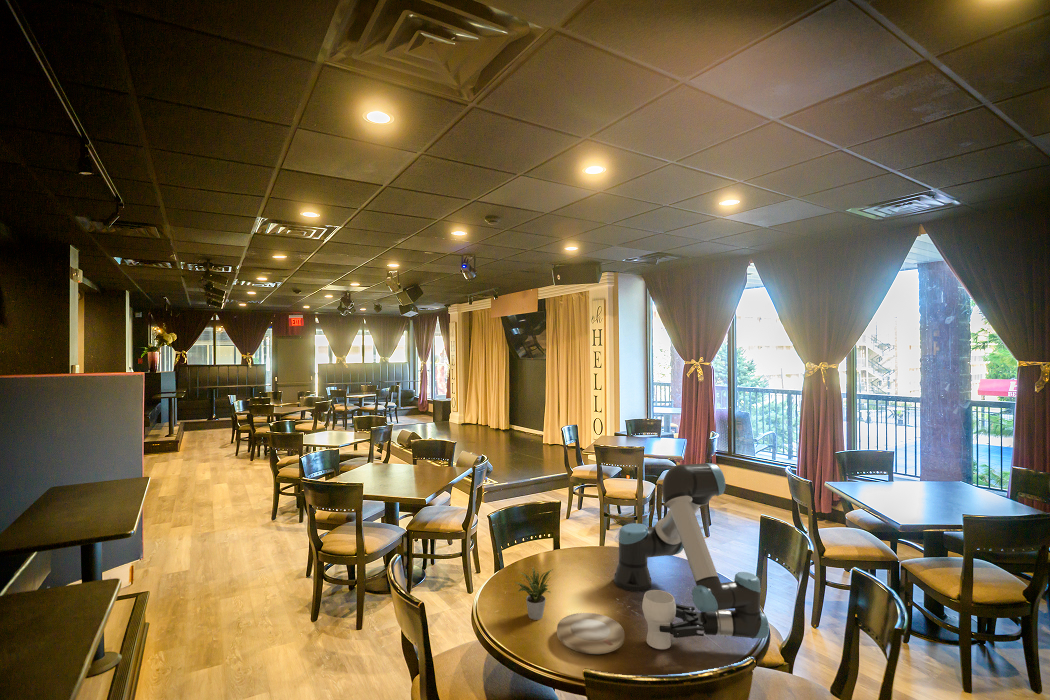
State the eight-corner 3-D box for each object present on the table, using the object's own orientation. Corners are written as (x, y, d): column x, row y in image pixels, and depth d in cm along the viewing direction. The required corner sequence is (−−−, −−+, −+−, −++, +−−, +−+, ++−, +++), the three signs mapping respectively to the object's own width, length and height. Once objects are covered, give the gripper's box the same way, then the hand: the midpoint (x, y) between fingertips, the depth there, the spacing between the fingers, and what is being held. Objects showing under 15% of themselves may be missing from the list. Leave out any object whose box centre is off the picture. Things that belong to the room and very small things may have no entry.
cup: (677, 654, 158) (677, 606, 159) (642, 649, 161) (642, 602, 161) (674, 635, 169) (674, 590, 169) (641, 631, 171) (642, 587, 171)
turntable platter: (544, 627, 170) (544, 623, 170) (594, 611, 181) (594, 606, 181) (584, 661, 151) (585, 656, 151) (638, 641, 163) (638, 636, 163)
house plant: (536, 600, 193) (537, 557, 193) (564, 614, 183) (564, 569, 183) (509, 613, 183) (510, 568, 183) (536, 629, 173) (537, 581, 173)
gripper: (725, 654, 151) (650, 649, 154) (706, 615, 174) (641, 610, 177) (726, 629, 151) (651, 624, 154) (707, 593, 174) (641, 589, 177)
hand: (646, 617), depth 165 cm, fingers closed on cup, 10 cm apart
